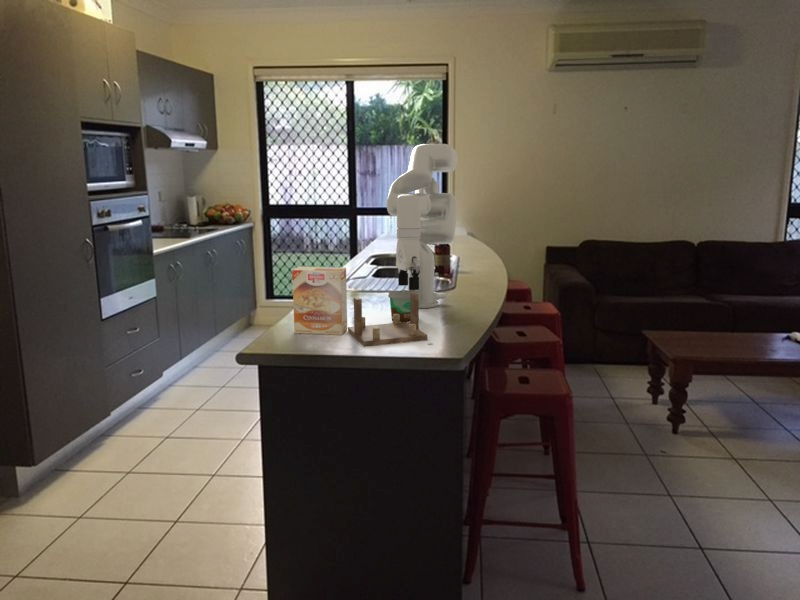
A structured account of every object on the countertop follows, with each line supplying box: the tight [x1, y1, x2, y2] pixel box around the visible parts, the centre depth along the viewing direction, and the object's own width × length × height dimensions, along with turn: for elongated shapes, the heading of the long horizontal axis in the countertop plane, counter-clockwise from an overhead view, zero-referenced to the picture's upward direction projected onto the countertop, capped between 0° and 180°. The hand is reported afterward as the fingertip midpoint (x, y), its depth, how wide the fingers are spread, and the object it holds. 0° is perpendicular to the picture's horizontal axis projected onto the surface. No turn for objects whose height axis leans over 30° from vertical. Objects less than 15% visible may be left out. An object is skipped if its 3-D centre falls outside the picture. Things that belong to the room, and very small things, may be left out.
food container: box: [387, 288, 422, 323], centre depth 214 cm, size 12×6×10 cm, turn 129°
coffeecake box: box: [291, 266, 348, 336], centre depth 199 cm, size 15×7×20 cm, turn 81°
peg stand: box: [347, 293, 428, 347], centre depth 195 cm, size 19×17×12 cm
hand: (408, 287), depth 212 cm, fingers open, 9 cm apart
